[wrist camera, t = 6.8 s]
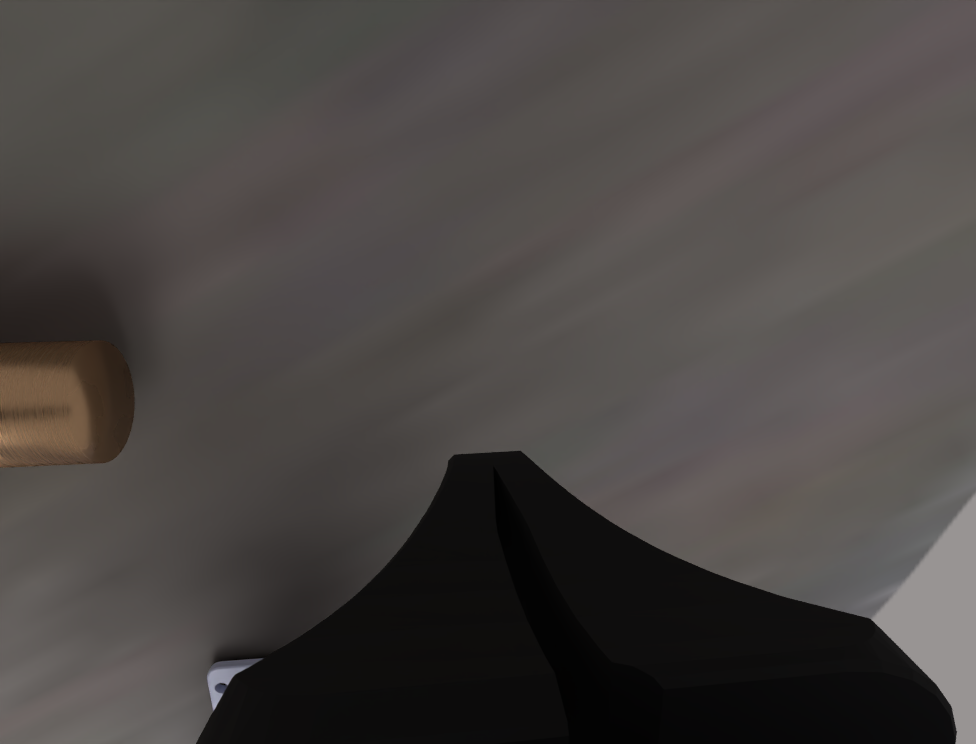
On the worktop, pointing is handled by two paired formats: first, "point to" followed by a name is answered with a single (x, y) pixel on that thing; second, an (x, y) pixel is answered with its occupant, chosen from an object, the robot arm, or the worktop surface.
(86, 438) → the tube
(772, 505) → the worktop surface
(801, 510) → the worktop surface
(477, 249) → the worktop surface
